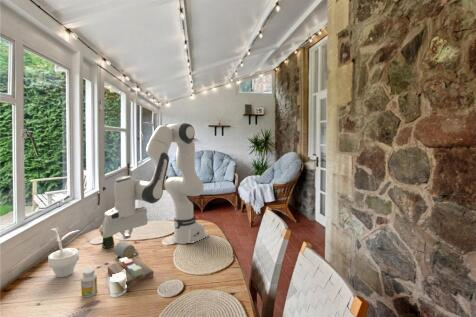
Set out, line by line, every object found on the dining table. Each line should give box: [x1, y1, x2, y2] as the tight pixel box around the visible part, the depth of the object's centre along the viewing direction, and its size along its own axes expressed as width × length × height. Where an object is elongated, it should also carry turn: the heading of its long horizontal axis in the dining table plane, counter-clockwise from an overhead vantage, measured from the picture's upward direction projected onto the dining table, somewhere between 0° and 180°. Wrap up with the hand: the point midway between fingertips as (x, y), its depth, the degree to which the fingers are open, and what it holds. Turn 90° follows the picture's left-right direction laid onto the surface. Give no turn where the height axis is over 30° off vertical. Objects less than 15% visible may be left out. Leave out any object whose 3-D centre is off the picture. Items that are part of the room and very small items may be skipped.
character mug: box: [98, 223, 117, 249], centre depth 144 cm, size 11×7×13 cm, turn 78°
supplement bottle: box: [80, 267, 98, 298], centre depth 101 cm, size 5×5×10 cm
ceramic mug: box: [113, 240, 138, 259], centre depth 134 cm, size 11×8×8 cm
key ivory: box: [118, 257, 129, 266], centre depth 120 cm, size 3×3×3 cm
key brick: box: [123, 258, 133, 270], centre depth 117 cm, size 3×3×3 cm
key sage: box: [131, 265, 142, 278], centre depth 110 cm, size 3×3×3 cm
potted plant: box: [47, 224, 81, 278], centre depth 115 cm, size 13×12×25 cm
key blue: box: [127, 264, 137, 274], centre depth 114 cm, size 3×3×3 cm
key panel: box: [107, 256, 154, 289], centre depth 115 cm, size 13×19×3 cm
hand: (126, 238), depth 121 cm, fingers closed
